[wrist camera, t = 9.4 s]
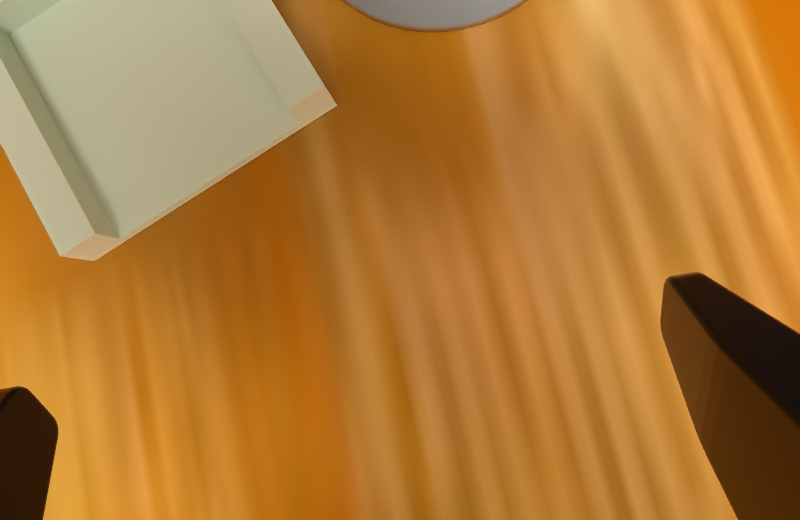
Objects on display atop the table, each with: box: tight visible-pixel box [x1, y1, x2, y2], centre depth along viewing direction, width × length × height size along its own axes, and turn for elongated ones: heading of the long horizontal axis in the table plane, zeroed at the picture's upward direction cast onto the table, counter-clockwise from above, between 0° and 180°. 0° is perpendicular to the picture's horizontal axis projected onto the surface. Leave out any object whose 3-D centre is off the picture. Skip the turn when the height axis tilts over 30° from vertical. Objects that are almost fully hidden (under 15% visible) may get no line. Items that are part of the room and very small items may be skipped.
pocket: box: [0, 0, 337, 261], centre depth 23 cm, size 11×11×2 cm
